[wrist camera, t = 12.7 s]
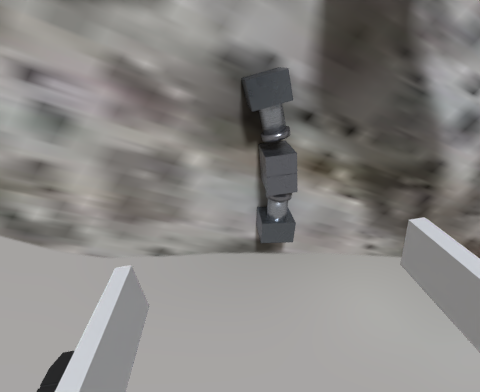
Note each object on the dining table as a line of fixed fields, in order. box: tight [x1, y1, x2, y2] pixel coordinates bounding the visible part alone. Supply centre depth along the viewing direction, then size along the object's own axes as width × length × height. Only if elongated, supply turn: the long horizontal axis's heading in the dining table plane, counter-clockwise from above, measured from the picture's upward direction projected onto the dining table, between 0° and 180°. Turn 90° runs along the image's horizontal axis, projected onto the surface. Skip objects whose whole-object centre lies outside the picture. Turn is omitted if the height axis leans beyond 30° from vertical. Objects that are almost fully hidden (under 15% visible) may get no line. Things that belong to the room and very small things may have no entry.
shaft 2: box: [256, 192, 296, 243], centre depth 41 cm, size 8×5×5 cm, turn 178°
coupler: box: [258, 141, 297, 196], centre depth 37 cm, size 6×4×6 cm
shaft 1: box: [241, 68, 293, 142], centre depth 34 cm, size 8×5×5 cm, turn 14°
